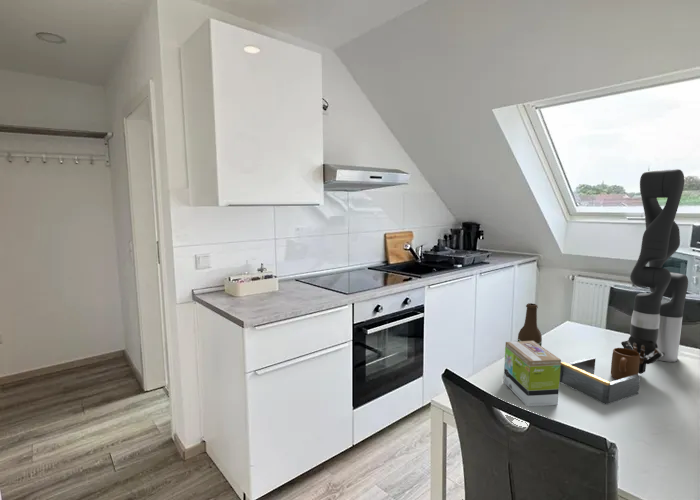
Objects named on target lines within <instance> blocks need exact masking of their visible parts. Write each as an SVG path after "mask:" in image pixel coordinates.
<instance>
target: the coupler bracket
mask: <svg viewBox="0 0 700 500" xmlns="http://www.w3.org/2000/svg"><path fill="white" fill-rule="evenodd" d="M595 366H596V358H595V357H593V356H591V357H586V358H583V359H578V360H575V361H571V362H565V361H561V369H560V381H559V383H561V384H563V385H565V386H567V387H569V388H571V389H573V390H575V391H578V392H580V393H581V394H583V395H585V396H587V397H590V398H591V399H593V400H596V401H598V402H599V403H601V404H604V405H608V404H612V403H615V402H618V401H620V400H621V401H622V400H623V399H627V398H630V397H633V396H636V395H639V392H640V391H639V390H640V385H641V384H640V381H641V375H639V374H638V375H637V374H636V375H632V376H629V377H625V378H622V379H618V380H617V379H615V380H613V381H609V380H606V379H603V378H602V377H599V376H597V375H595V369H596V367H595Z"/></svg>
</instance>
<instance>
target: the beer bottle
mask: <svg viewBox="0 0 700 500" xmlns="http://www.w3.org/2000/svg"><path fill="white" fill-rule="evenodd" d="M525 308H526V312H525V317H524V324H523V326H522V327H521V328H520V329H519V331H518V335H517V341H534V342H536V343H537V344H539V345H540V346H542V343H543V340H542V339H543V337H542V333H541V330H540V328H539V327H538V321H537V320H538V316H537V315H538V312H537V311H538V309H539V308H538V304H536V303H527V304H526V305H525Z"/></svg>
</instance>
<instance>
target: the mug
mask: <svg viewBox="0 0 700 500" xmlns="http://www.w3.org/2000/svg"><path fill="white" fill-rule="evenodd" d="M611 356H612V357H611V365H610V376H611V377H612V378H613V379H615V380H618V379H622V378H625V377H629V376H632V375H636V374H637V375H639V373H638V372H639V364H640V354H639V353H638V352H636V351H633V350H630V349H626V348H624V347H615V348H614V349H613V350H612V354H611Z"/></svg>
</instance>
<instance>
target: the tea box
mask: <svg viewBox="0 0 700 500" xmlns="http://www.w3.org/2000/svg"><path fill="white" fill-rule="evenodd" d="M561 362H562V360H561V359H560V358H559V357H558V356H556V355H554V354H553V353H552V352H551V351H549V350H547V349H546V348H545V347H543V346H542V345H541V346H540V345H539V344H537V343H536V342H534V341H518V340H517V341H505V348H504V369H503V383H504V384H505V385H506V387H508V388H509V389H510V390H511V392H513V393H514V394H515V395H516V397H518V398H519V400H520V401H521V402H522V403H523V404H524V406H526V407H547V406H549V407H550V406H558V403H559V392H560V391H559V390H560V382H559V381H560V369H561Z"/></svg>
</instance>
